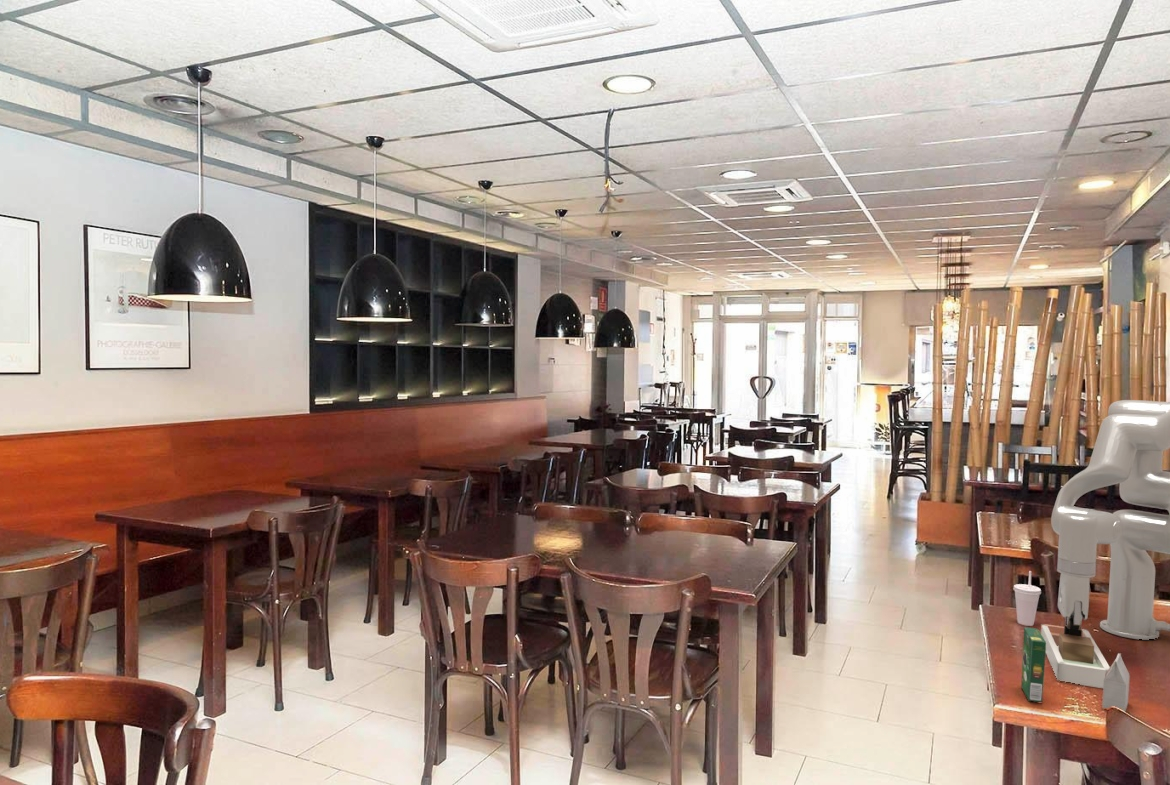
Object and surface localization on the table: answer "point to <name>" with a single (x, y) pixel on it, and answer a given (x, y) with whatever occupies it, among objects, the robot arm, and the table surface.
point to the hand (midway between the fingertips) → (1072, 644)
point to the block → (1076, 648)
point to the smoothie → (1026, 602)
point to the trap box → (1074, 669)
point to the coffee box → (1033, 664)
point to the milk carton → (1116, 685)
